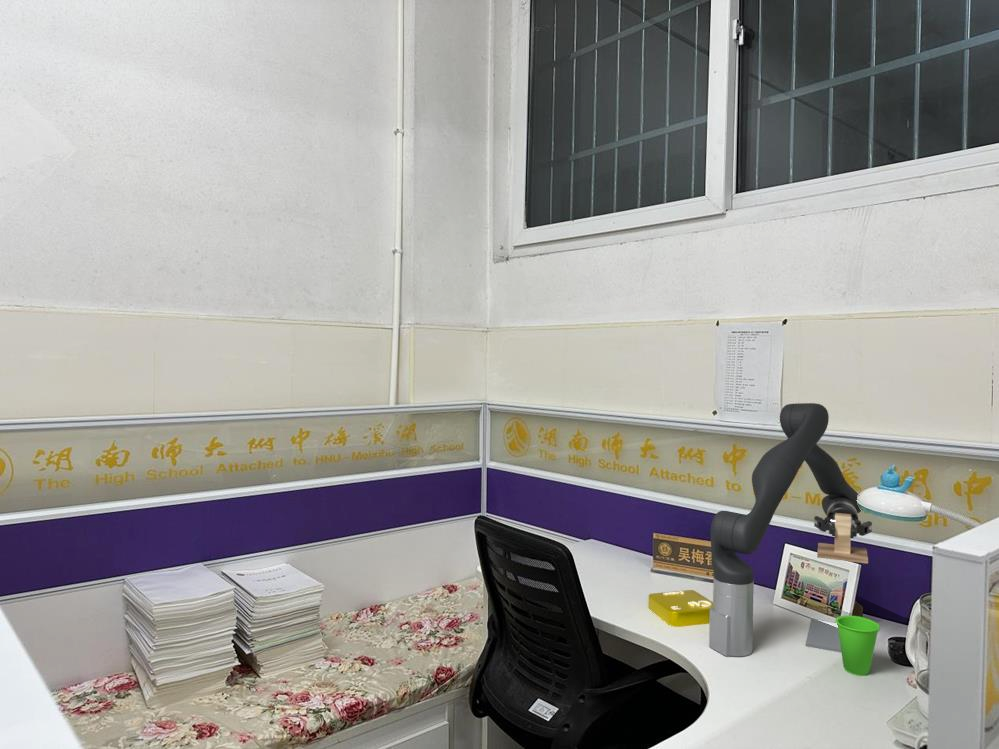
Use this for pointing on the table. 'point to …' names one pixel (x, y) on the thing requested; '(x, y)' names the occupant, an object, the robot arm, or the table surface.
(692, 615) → the element tile
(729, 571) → the robot arm
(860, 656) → the cup
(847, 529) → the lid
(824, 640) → the mat
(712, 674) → the table surface
